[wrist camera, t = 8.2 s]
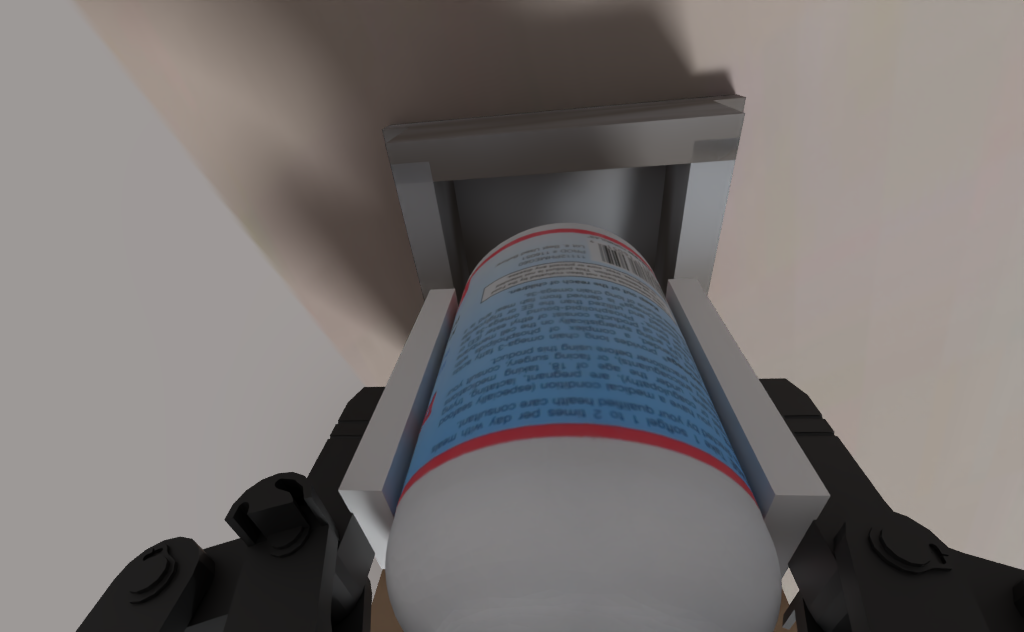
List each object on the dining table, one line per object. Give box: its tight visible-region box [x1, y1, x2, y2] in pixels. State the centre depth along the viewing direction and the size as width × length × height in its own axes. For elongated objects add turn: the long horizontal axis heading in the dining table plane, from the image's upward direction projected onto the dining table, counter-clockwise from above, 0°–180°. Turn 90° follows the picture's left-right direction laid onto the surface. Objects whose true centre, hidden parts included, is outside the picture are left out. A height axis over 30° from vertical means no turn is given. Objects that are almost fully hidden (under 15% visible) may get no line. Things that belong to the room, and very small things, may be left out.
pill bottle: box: [385, 223, 782, 632], centre depth 9 cm, size 6×6×11 cm
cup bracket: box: [370, 94, 797, 632], centre depth 13 cm, size 13×12×12 cm
